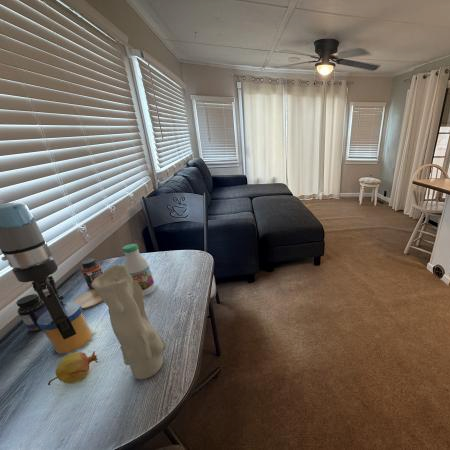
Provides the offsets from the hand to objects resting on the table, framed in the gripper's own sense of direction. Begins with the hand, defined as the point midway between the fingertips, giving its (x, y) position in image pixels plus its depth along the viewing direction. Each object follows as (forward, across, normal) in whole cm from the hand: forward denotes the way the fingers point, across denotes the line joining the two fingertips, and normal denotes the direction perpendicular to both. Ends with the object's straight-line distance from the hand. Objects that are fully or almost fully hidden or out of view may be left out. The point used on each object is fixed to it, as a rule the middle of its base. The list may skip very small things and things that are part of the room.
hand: (67, 327), depth 71 cm
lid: (-5, 0, 0) cm, 5 cm away
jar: (+5, 0, 0) cm, 5 cm away
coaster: (+5, -21, +8) cm, 23 cm away
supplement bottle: (+6, -31, +12) cm, 34 cm away
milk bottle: (+6, -10, +23) cm, 26 cm away
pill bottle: (+6, -17, -6) cm, 19 cm away
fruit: (+6, +16, -1) cm, 17 cm away
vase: (+6, +28, +12) cm, 31 cm away
